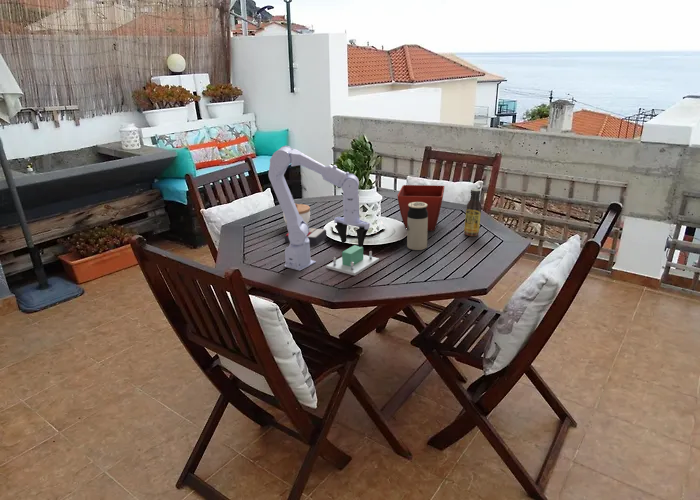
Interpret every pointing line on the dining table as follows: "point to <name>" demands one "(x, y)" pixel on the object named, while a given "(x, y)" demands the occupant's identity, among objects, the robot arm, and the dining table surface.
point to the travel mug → (417, 226)
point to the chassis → (353, 268)
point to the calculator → (313, 236)
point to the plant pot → (421, 194)
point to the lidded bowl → (302, 212)
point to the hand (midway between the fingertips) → (352, 244)
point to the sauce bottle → (473, 214)
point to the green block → (352, 255)
